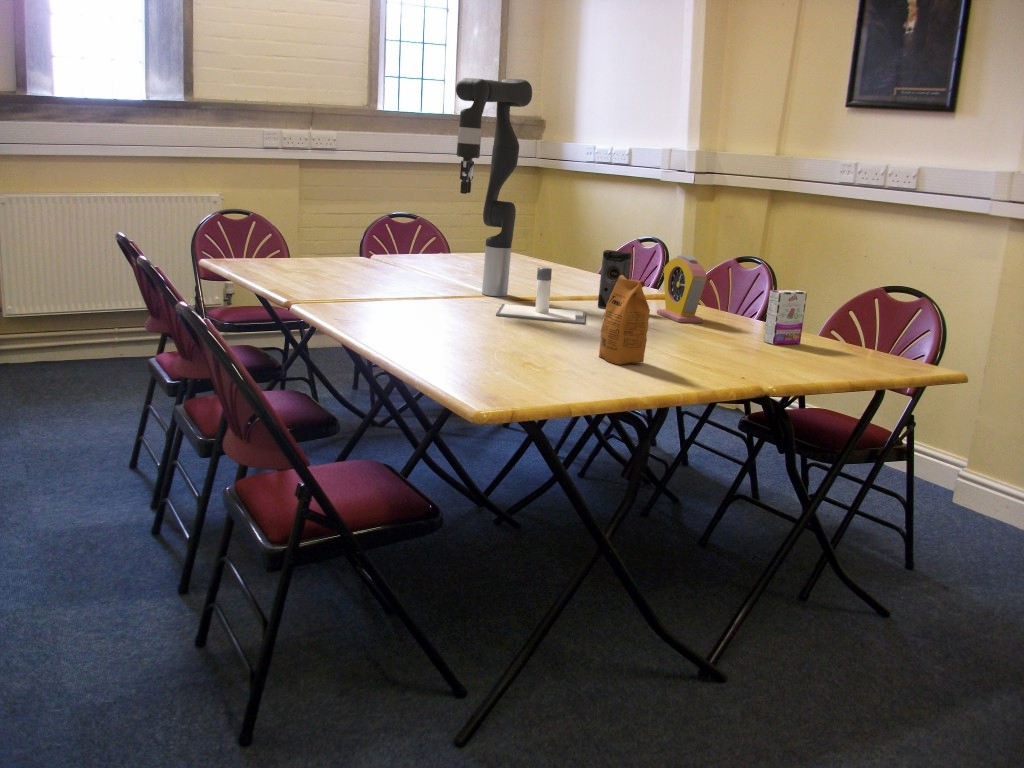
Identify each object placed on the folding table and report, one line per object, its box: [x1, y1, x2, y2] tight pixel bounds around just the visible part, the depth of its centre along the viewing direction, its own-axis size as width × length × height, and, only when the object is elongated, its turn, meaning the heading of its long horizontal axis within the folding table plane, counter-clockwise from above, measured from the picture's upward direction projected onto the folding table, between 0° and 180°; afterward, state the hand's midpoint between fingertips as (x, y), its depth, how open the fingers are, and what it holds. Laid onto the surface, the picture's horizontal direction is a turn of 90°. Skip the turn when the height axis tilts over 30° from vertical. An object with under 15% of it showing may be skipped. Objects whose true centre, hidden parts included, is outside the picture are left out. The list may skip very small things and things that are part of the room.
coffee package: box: [598, 275, 651, 366], centre depth 254 cm, size 10×12×22 cm
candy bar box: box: [763, 289, 808, 346], centre depth 301 cm, size 11×5×16 cm, turn 117°
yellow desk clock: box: [656, 254, 708, 324], centre depth 331 cm, size 22×9×22 cm, turn 18°
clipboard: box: [495, 303, 586, 325], centre depth 318 cm, size 22×28×2 cm
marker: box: [535, 267, 553, 313], centre depth 316 cm, size 5×5×14 cm
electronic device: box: [597, 249, 632, 310], centre depth 341 cm, size 9×6×20 cm, turn 68°
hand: (465, 193), depth 321 cm, fingers open, 8 cm apart
